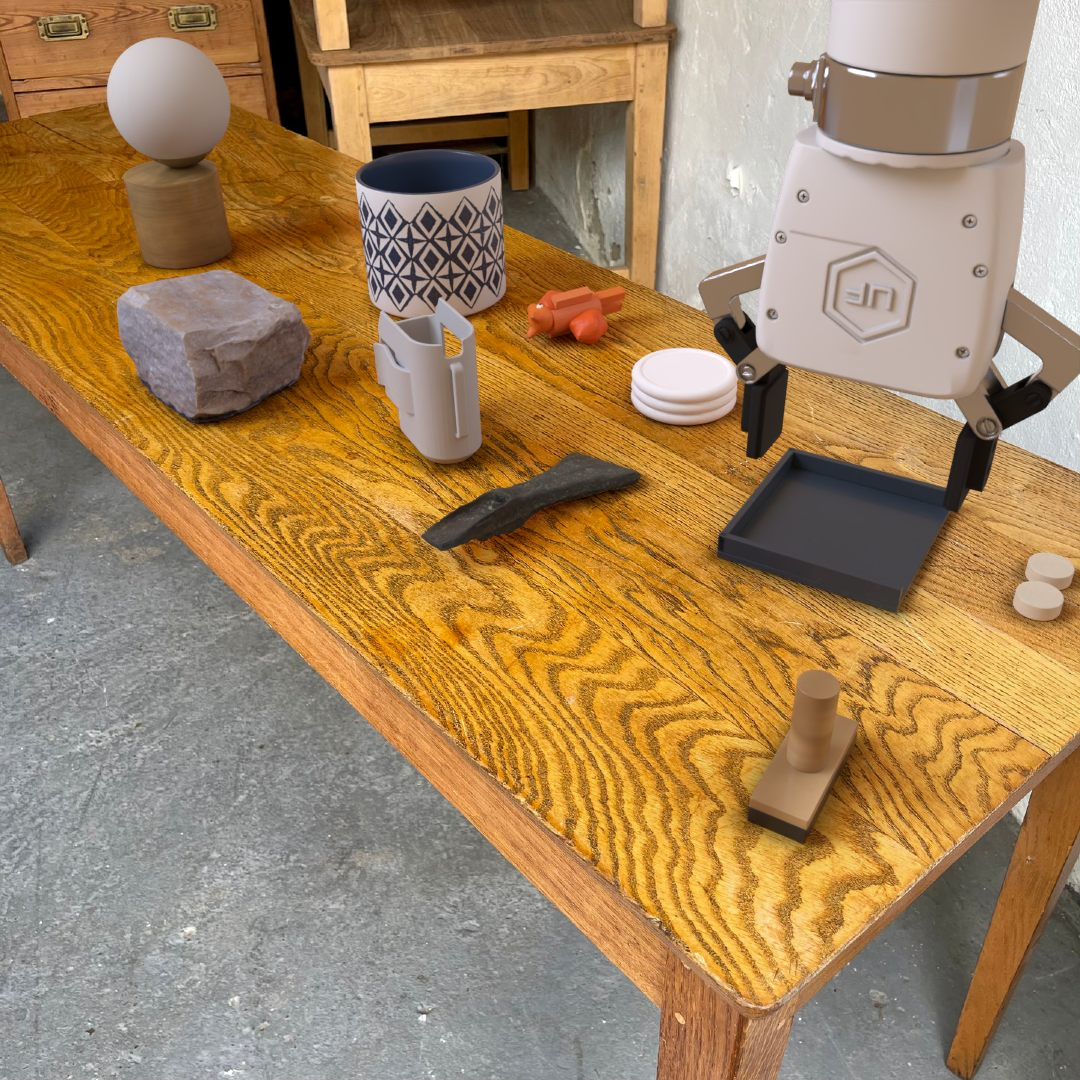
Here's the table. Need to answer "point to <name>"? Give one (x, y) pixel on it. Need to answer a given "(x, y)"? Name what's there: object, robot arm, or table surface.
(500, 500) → the tool
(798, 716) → the brush
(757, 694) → the table surface
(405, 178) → the planter
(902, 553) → the tray
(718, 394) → the coaster
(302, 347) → the stone block
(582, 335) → the orange toy bird
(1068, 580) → the disc
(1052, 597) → the disc
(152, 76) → the lamp
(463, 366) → the cable organizer
